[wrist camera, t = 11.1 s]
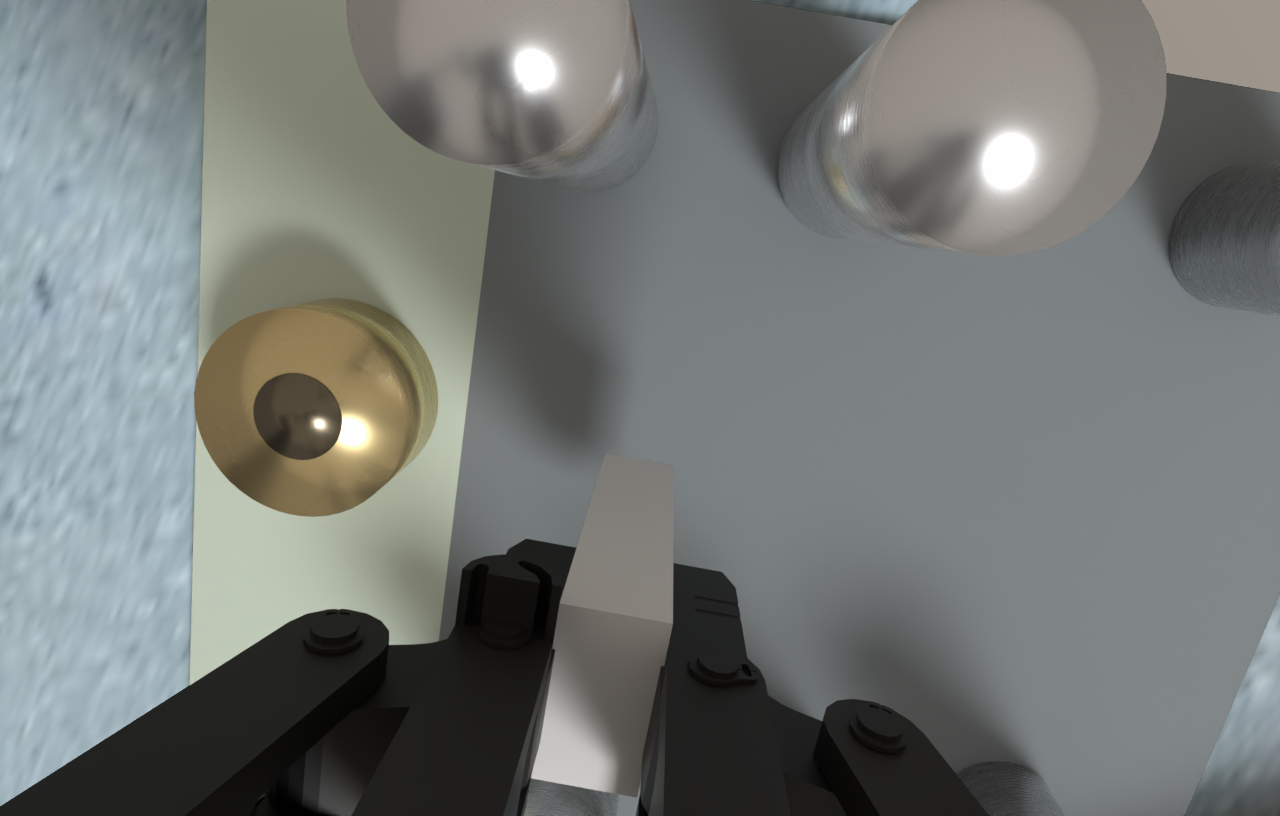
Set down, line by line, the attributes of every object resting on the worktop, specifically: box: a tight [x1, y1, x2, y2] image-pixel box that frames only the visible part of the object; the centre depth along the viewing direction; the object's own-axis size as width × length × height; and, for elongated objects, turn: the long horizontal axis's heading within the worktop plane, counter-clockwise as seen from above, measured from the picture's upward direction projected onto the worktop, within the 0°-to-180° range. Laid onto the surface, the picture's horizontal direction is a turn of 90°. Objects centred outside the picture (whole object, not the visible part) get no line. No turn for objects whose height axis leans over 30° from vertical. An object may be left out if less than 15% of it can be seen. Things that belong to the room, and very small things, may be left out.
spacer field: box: [346, 0, 1280, 816], centre depth 15 cm, size 18×19×9 cm
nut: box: [194, 298, 438, 517], centre depth 18 cm, size 5×5×2 cm
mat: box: [190, 0, 1280, 816], centre depth 19 cm, size 28×22×1 cm
